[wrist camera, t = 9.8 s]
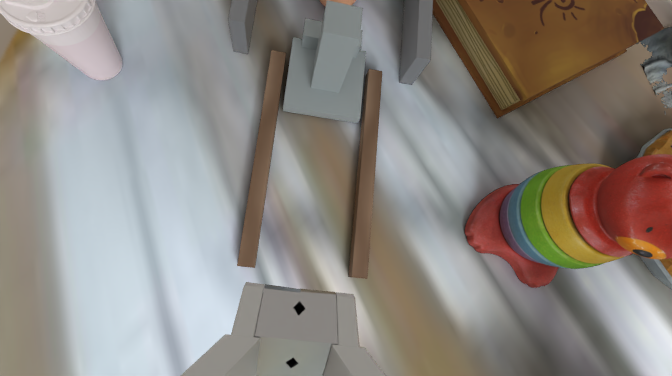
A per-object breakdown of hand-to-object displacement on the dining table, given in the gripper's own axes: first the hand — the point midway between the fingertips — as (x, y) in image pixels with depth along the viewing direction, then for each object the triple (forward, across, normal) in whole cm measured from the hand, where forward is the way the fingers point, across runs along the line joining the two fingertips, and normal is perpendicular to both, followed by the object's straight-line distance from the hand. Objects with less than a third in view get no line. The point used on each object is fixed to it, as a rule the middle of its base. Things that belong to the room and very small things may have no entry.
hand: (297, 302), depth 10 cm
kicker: (+32, -1, +2) cm, 32 cm away
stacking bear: (+24, -24, +12) cm, 36 cm away
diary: (+43, -26, -7) cm, 51 cm away
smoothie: (+30, +21, +4) cm, 37 cm away
